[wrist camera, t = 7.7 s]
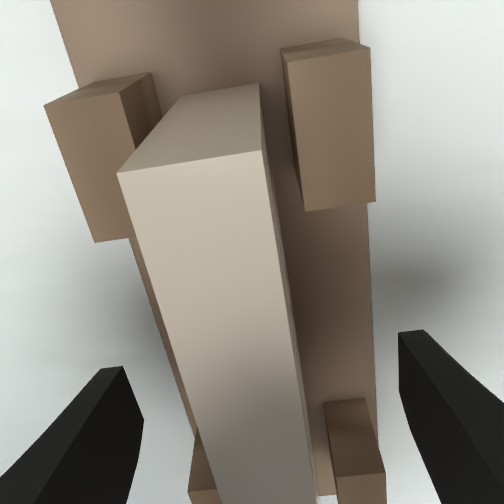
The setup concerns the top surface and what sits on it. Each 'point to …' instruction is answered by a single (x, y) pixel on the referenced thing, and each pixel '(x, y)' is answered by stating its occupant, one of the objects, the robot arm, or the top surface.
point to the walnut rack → (284, 175)
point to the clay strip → (225, 290)
